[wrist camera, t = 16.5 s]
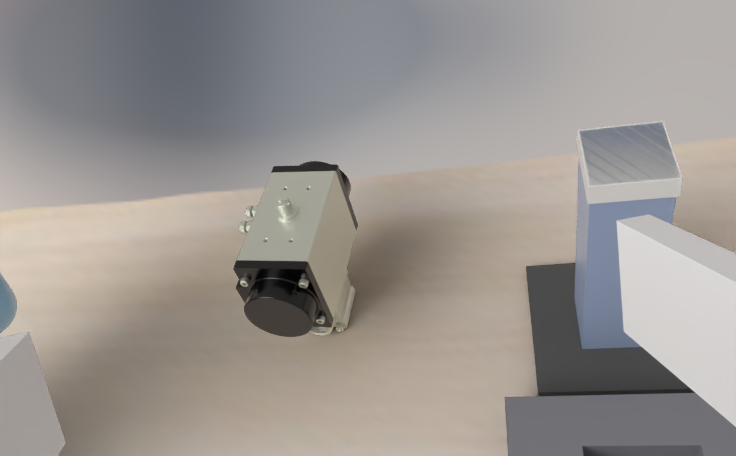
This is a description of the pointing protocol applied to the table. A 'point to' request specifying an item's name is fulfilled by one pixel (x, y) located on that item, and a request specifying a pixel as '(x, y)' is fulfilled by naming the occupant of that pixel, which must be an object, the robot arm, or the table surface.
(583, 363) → the mat
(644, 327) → the robot arm
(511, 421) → the socket
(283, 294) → the pneumatic valve
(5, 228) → the table surface
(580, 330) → the plug
